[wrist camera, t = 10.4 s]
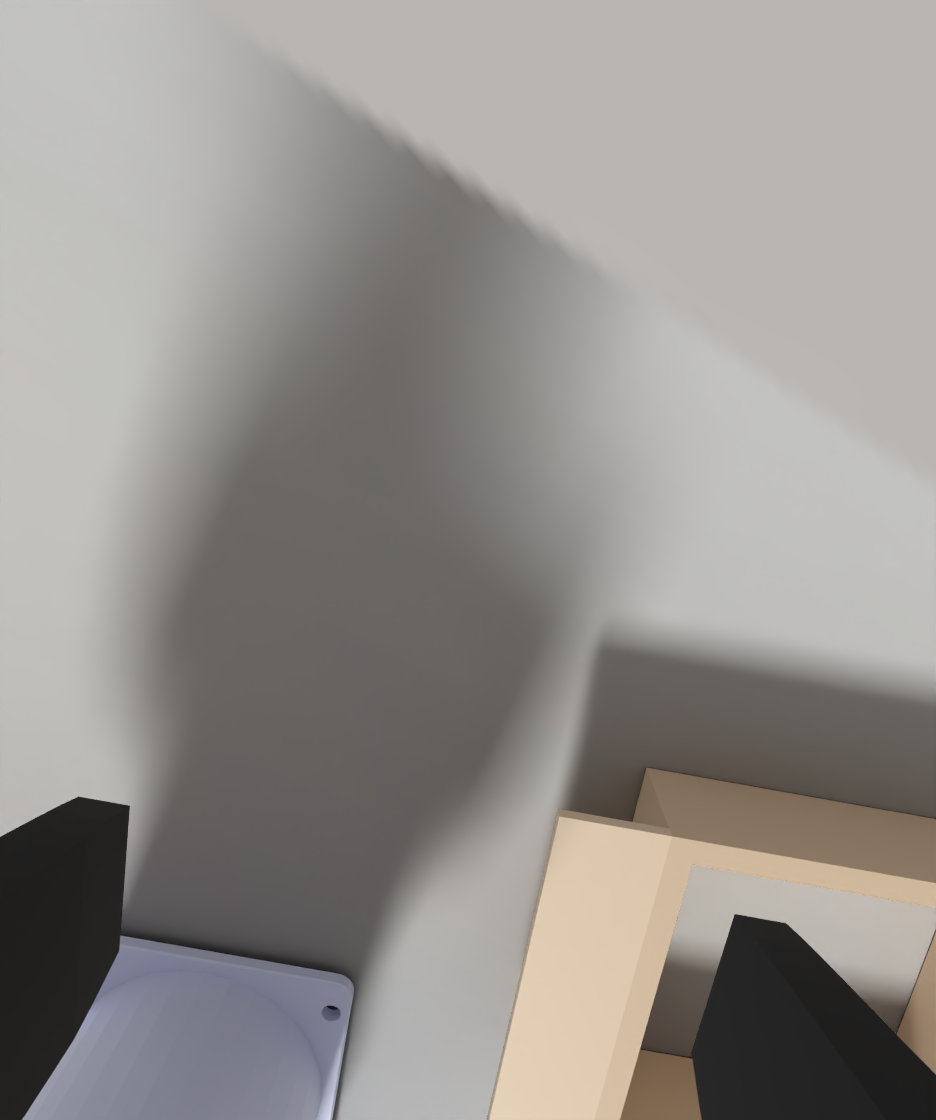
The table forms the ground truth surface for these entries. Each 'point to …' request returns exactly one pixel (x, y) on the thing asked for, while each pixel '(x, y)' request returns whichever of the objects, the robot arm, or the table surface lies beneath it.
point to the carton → (647, 927)
